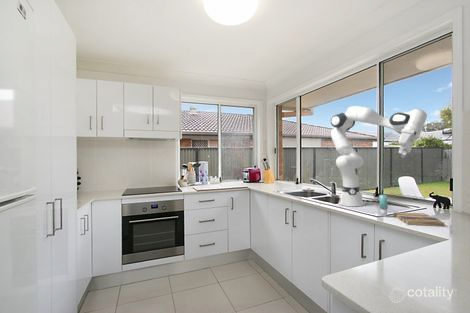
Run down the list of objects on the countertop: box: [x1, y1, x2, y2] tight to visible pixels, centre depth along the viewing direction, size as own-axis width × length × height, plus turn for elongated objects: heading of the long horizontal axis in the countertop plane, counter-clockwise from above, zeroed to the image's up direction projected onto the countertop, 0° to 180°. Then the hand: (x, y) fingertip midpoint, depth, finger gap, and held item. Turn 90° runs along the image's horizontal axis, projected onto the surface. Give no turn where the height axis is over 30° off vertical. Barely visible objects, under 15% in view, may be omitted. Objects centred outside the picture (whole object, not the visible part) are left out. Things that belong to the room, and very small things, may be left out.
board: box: [392, 211, 446, 227], centre depth 126 cm, size 20×16×2 cm
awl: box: [378, 194, 388, 218], centre depth 137 cm, size 4×4×13 cm
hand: (401, 155), depth 138 cm, fingers open, 8 cm apart
